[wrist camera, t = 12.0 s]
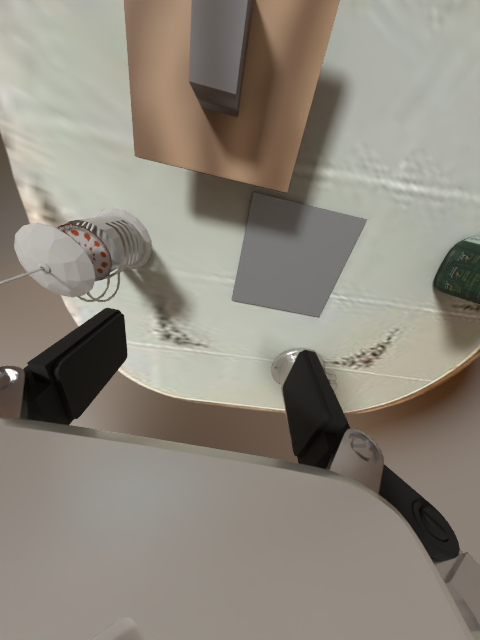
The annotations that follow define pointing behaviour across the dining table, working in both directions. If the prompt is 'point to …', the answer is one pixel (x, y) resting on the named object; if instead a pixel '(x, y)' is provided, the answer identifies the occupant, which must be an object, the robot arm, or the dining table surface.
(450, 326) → the dining table surface
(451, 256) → the coffee jar
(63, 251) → the lantern
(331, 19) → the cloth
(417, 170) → the dining table surface
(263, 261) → the mat
